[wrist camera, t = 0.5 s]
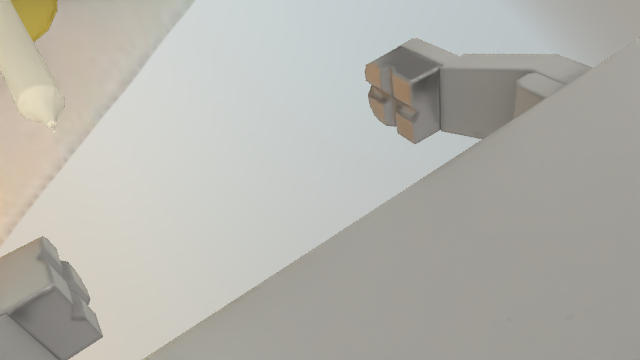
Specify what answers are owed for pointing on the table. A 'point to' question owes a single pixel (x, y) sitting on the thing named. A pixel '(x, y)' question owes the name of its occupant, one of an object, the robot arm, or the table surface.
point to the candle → (29, 59)
